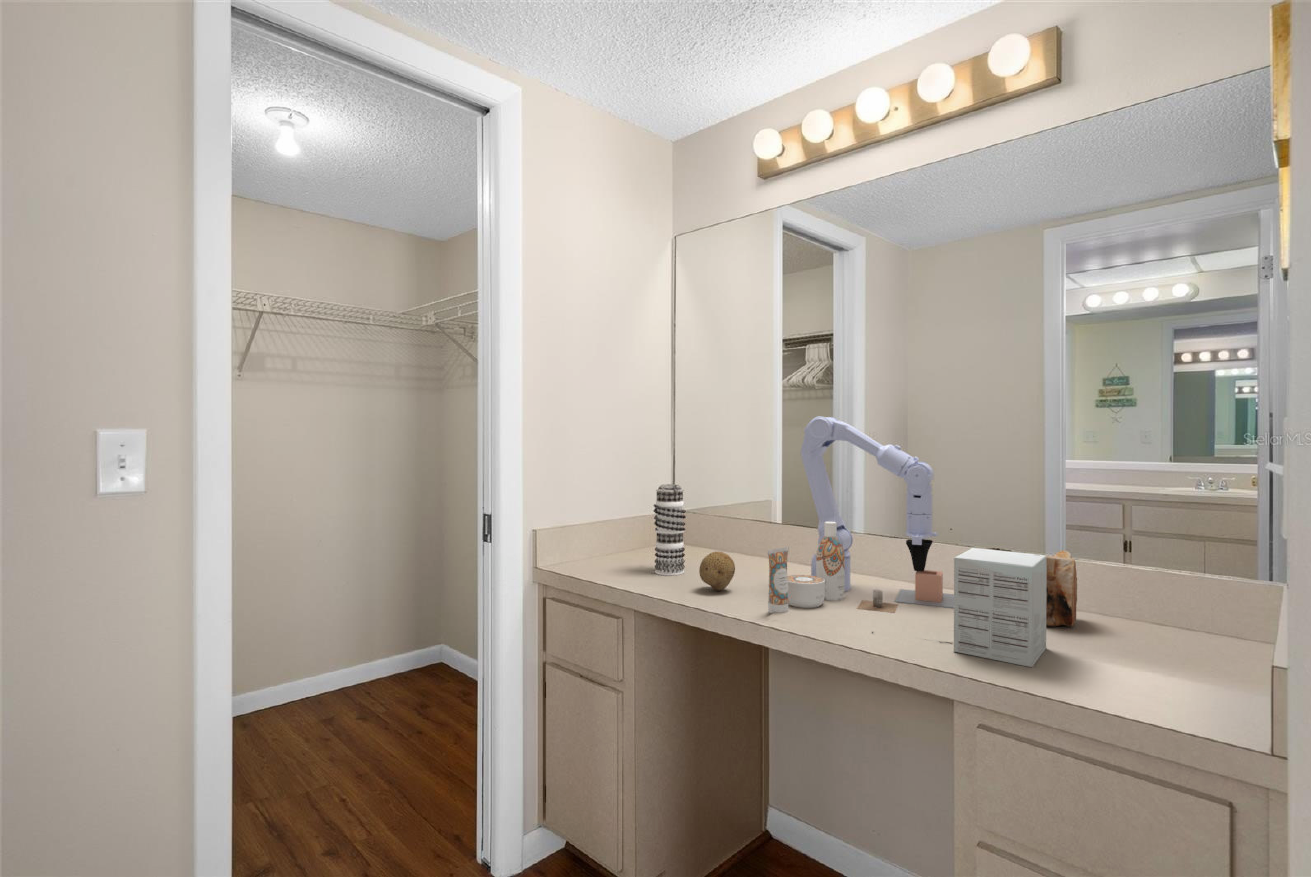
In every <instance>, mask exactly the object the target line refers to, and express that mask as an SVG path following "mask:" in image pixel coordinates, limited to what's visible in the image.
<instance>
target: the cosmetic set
mask: <svg viewBox="0 0 1311 877" xmlns="http://www.w3.org/2000/svg"><path fill="white" fill-rule="evenodd" d="M824 532H825V536H824V538H823V539H822V541H821V542H820V544H819V546H818V545H817V549H816V576H811V575H808V574H791V575H788V555H789V548H790V547H789V546H786V547H780V548H774V549H769V550H767V555H768V566H769V568H768V571H769V572H768V573H769V575H768V596H767V597H768V600H767V610H768V613H769V614H770V615H771V614H773V613H777V614H778V613H779V614H782V613H787V612H789V606H791V607H795V608H803V609H804V608H805V609H810V608H811V609H812V608H818V607H820V606H822V604H824V601H836V602H837V601H843V600H844V599H845V591H844V590H845V555H844V550H843V547H842V545H841V543H840V541H839V540H838V538H837V537H836V522H825V528H824Z"/></svg>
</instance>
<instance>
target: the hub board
mask: <svg viewBox="0 0 1311 877" xmlns="http://www.w3.org/2000/svg"><path fill="white" fill-rule="evenodd" d="M894 603H895V604H906V605H907V604H908V605H918V606H926V607H935V608H943V609H944V608H945V609H953V610H954V593H953V594H952V593H943V597H942V601H941V602H934V601H924V600H915V589H914V590H913V589H902V588H900V589H899V591H898V593H897V595H896V598H895V599H894Z"/></svg>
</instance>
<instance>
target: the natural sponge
mask: <svg viewBox="0 0 1311 877" xmlns="http://www.w3.org/2000/svg"><path fill="white" fill-rule="evenodd" d="M735 572H736V565H735V562H734V560H733V559H732V558H731V556H730V555H729V554H727V553H726V552H722V551H713V552H710V553H709V554H707V555H706V556H704V557H703V559H702V560H701V562H700V564H699V573H698V574H699V578H700V579H701V581H703V583H704V584H706V585H708V586H710V587H711V588H712V589H713V590H714V591H719V592H720V591H723V590H725V589H726V588H727V587H728V586H729V585H730V583H731V582H732V580H733V577H734V575H735Z"/></svg>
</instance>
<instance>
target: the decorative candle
mask: <svg viewBox="0 0 1311 877" xmlns="http://www.w3.org/2000/svg"><path fill="white" fill-rule="evenodd" d="M684 491H685V490H684V489H683V488H682V486H681V485H680V484H676V483H675V484H672V483H671V484H661V485H659V487H658V488H657V489H656V490H655V492H656V500H655V503H654V504H653V507H654V509H653V512H654V514H655V515H654V517H653V519H654V520H655V521H654V523H653V524H654V525H655V526H656V527H655V529H654V532H655V533H656V542H655V548H654V551H655V554H654V557H656V558H655V559H654V563H655V565H654V568H655V571H654V572H655V574H656V575H661V576H679V575H683V574H685V570H684V569H685V567H686V566H685V564H684V563H685V561H686V560H685V559H684V557H685V555H686V554H685V553H684V552H685V547H684V533H685V531H686V528H685V527H684V526H686V522H684V519H686V518H687V516H686V515H684V514H685V513H687V512H686V510H685V509H684V508H683V507H684V504H685V503H684V494H683V492H684Z"/></svg>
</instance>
